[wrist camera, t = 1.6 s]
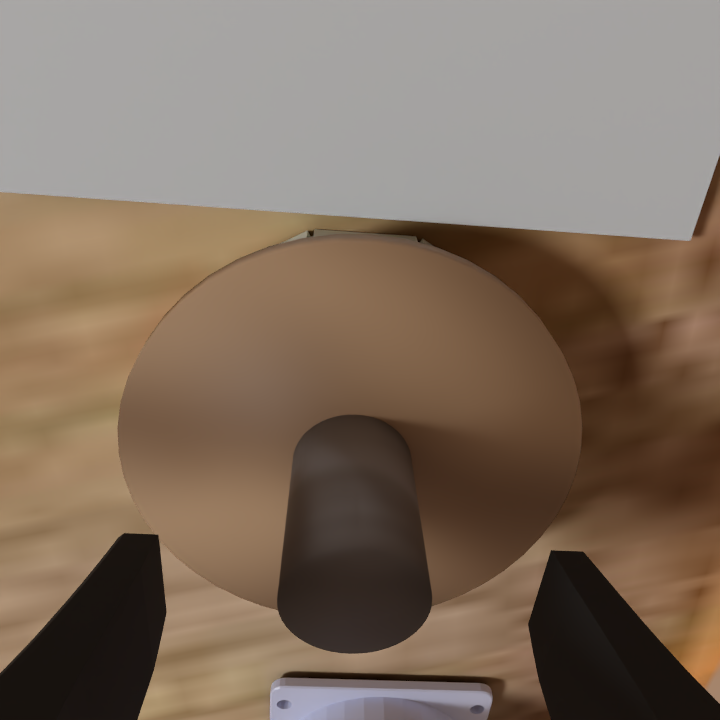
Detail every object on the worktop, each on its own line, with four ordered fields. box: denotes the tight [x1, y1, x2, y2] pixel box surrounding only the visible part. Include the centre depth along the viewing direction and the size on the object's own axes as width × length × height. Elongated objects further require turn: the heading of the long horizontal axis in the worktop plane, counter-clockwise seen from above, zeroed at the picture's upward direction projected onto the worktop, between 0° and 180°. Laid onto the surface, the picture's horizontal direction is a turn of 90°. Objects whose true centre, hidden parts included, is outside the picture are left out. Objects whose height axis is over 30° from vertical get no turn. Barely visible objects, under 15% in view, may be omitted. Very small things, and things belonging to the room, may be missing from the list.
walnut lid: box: [118, 234, 583, 654], centre depth 13 cm, size 11×11×5 cm
